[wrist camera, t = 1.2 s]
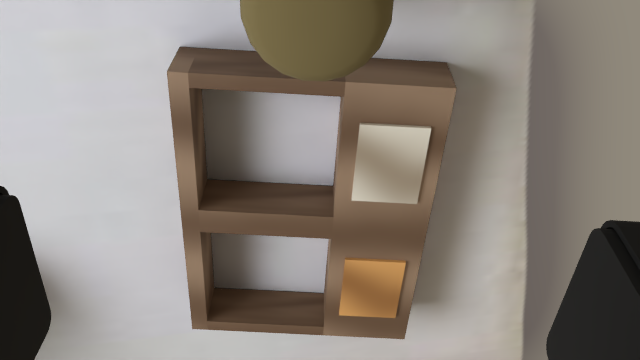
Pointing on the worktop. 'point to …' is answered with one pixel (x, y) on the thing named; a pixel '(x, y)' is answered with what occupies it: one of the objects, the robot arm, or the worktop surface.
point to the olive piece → (316, 34)
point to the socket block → (318, 194)
